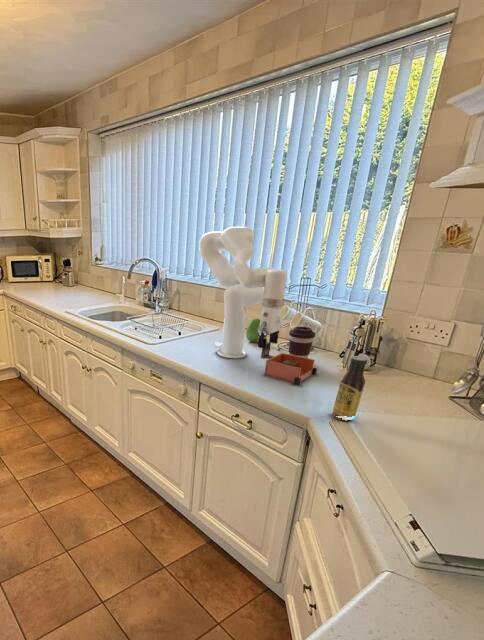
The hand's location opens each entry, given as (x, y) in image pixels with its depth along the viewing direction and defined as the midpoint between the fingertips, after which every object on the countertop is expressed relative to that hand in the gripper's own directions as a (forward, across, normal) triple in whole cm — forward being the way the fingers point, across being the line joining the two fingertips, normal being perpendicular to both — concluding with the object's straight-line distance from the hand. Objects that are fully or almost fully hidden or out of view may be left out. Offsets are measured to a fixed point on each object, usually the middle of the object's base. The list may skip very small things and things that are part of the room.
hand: (267, 345), depth 159 cm
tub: (+10, 0, -8) cm, 13 cm away
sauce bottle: (+11, -24, -38) cm, 46 cm away
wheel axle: (+11, 0, -16) cm, 20 cm away
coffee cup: (+10, +18, -6) cm, 22 cm away
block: (+10, 0, -10) cm, 14 cm away
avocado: (+10, +34, +23) cm, 42 cm away
